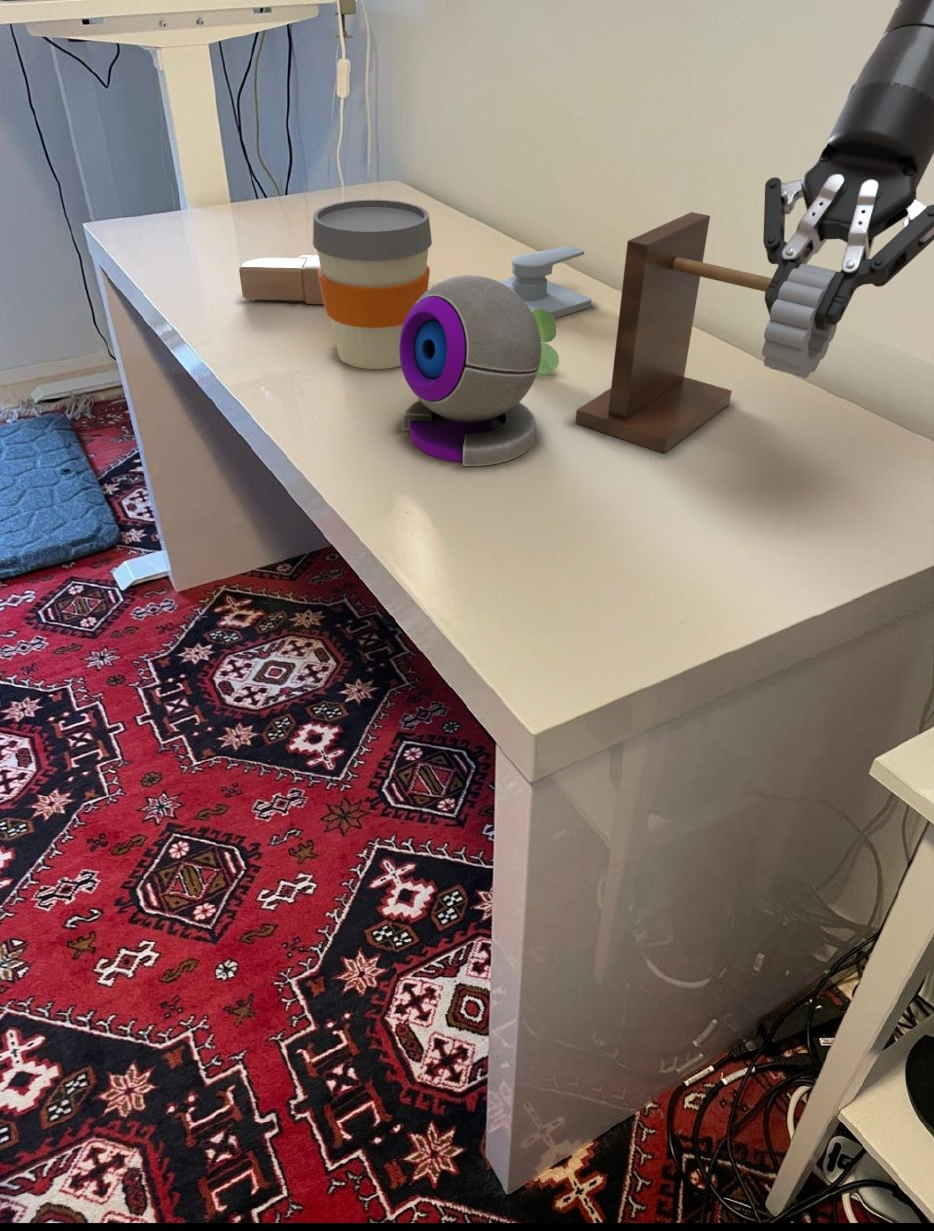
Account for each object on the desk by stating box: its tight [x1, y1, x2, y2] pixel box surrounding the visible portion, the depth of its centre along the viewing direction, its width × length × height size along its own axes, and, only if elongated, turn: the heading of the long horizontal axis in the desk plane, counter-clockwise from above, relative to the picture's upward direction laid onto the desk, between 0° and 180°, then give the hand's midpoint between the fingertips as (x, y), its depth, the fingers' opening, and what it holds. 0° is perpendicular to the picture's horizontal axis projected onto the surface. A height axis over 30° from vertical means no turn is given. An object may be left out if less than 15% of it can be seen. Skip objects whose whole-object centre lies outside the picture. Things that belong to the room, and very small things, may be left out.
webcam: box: [399, 274, 542, 467], centre depth 88 cm, size 13×13×15 cm
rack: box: [575, 211, 773, 454], centre depth 89 cm, size 19×14×18 cm
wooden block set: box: [238, 255, 324, 305], centre depth 125 cm, size 17×6×18 cm
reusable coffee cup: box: [312, 199, 433, 370], centre depth 104 cm, size 13×13×15 cm
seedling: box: [532, 309, 560, 376], centre depth 107 cm, size 7×8×7 cm
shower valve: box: [498, 245, 592, 319], centre depth 121 cm, size 12×6×15 cm
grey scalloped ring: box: [761, 263, 840, 379], centre depth 73 cm, size 3×8×8 cm, turn 142°
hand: (796, 318), depth 72 cm, fingers closed on grey scalloped ring, 3 cm apart
